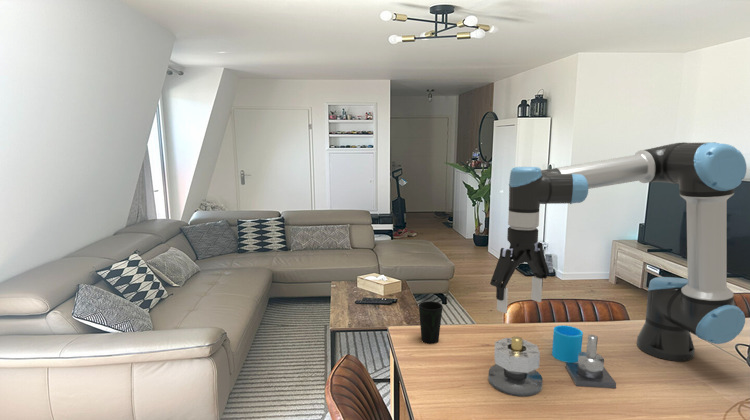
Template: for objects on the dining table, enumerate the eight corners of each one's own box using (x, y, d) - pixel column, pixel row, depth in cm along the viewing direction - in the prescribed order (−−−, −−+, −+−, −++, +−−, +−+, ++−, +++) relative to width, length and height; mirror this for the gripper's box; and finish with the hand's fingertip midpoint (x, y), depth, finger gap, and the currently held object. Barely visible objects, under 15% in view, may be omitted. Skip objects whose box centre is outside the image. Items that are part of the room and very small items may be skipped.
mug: (586, 362, 133) (588, 336, 131) (558, 363, 133) (560, 336, 131) (567, 344, 145) (569, 320, 143) (542, 344, 144) (544, 320, 143)
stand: (601, 369, 129) (605, 329, 127) (615, 388, 119) (619, 345, 117) (565, 367, 130) (568, 328, 128) (576, 385, 120) (579, 343, 118)
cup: (425, 333, 153) (426, 299, 151) (445, 339, 148) (446, 304, 146) (413, 341, 147) (414, 306, 145) (434, 347, 142) (435, 311, 140)
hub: (535, 370, 128) (538, 329, 126) (548, 398, 114) (551, 352, 112) (485, 367, 130) (487, 326, 128) (492, 394, 116) (493, 349, 114)
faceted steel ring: (513, 348, 129) (514, 335, 128) (547, 364, 120) (547, 350, 119) (485, 358, 123) (486, 344, 122) (519, 376, 114) (519, 361, 113)
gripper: (541, 219, 125) (537, 292, 129) (477, 230, 112) (475, 311, 115) (565, 224, 119) (561, 300, 122) (500, 235, 106) (497, 321, 109)
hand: (519, 305), depth 119 cm, fingers open, 13 cm apart
